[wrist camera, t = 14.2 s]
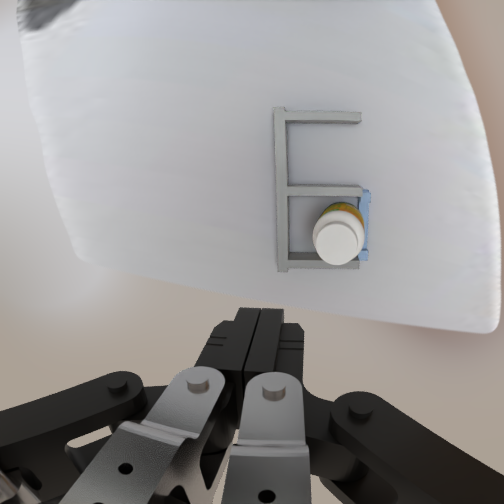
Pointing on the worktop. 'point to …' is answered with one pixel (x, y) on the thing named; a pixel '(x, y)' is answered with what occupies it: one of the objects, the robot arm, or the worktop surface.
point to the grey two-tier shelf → (304, 186)
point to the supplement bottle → (339, 233)
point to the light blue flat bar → (364, 209)
